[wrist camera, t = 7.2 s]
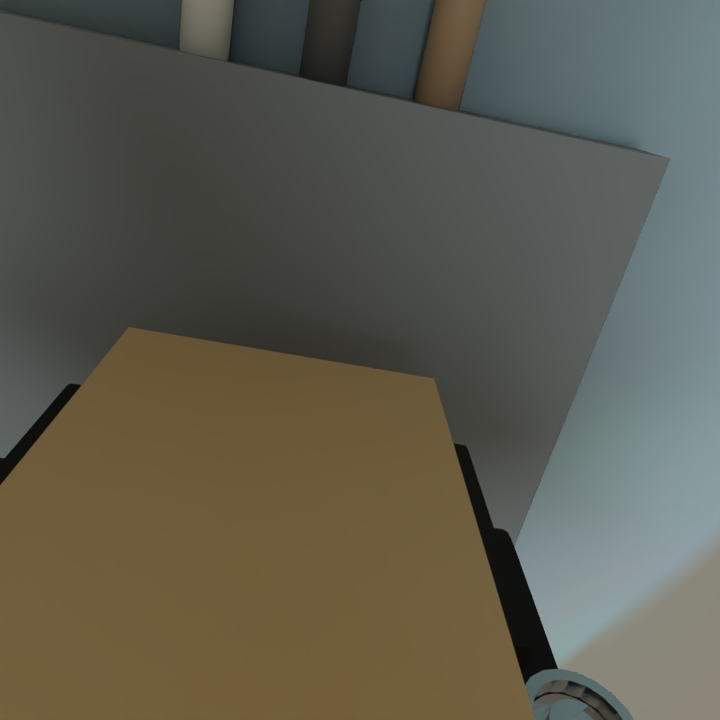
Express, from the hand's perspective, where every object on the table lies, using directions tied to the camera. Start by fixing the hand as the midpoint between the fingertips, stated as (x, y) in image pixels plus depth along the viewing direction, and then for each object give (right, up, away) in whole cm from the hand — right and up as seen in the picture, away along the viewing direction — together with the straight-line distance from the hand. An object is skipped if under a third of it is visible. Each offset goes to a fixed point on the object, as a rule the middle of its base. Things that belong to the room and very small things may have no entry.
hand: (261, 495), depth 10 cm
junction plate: (0, +4, +3) cm, 4 cm away
